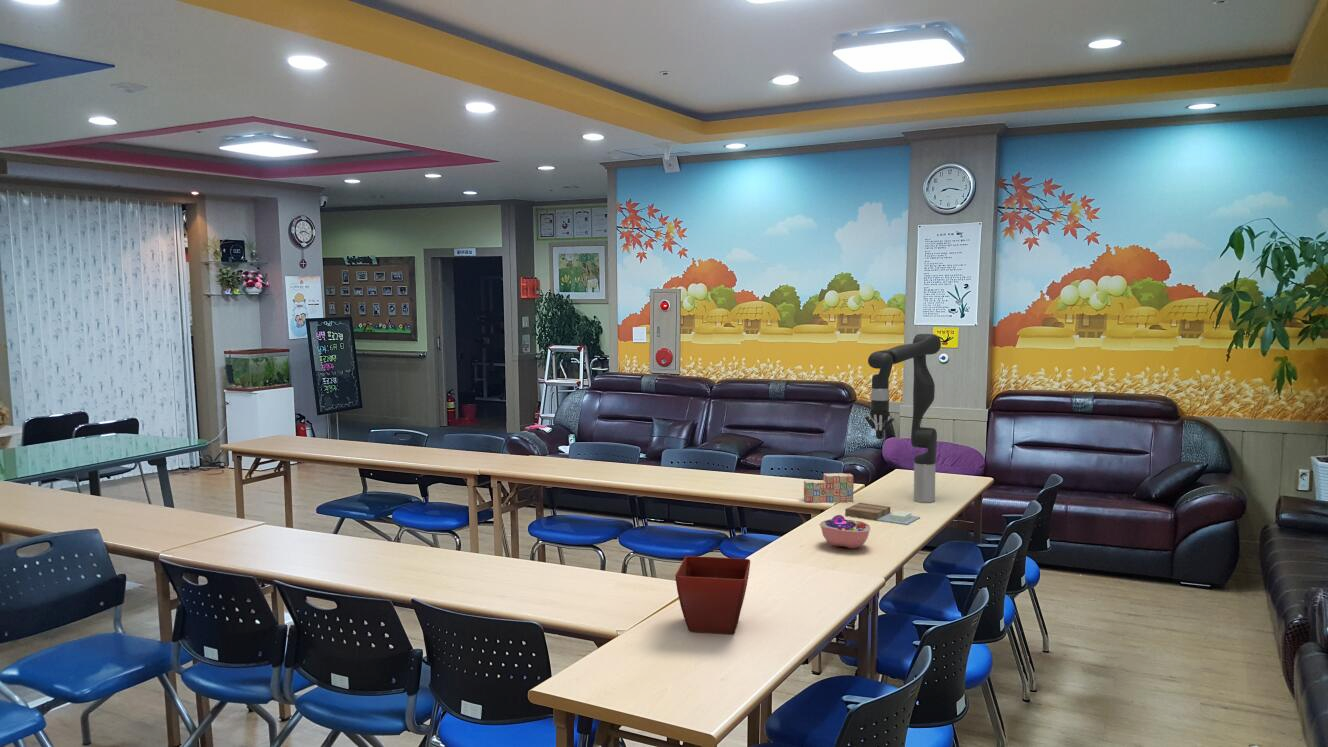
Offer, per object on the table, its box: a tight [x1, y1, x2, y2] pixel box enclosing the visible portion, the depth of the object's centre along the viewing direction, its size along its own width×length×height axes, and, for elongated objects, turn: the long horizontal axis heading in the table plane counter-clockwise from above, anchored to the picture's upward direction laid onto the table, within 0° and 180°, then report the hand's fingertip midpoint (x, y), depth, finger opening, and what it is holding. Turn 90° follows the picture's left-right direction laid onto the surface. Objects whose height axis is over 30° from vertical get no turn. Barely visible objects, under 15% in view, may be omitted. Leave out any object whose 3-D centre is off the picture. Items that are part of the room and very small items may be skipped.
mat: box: [876, 512, 921, 526], centre depth 369 cm, size 14×13×1 cm
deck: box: [844, 502, 891, 522], centre depth 377 cm, size 14×14×3 cm
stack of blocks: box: [803, 472, 855, 504], centre depth 403 cm, size 21×6×12 cm, turn 91°
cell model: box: [819, 514, 871, 549], centre depth 328 cm, size 17×20×11 cm
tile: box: [890, 510, 912, 521], centre depth 368 cm, size 8×6×2 cm
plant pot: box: [675, 555, 751, 635], centre depth 249 cm, size 19×19×17 cm
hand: (879, 438), depth 384 cm, fingers closed
